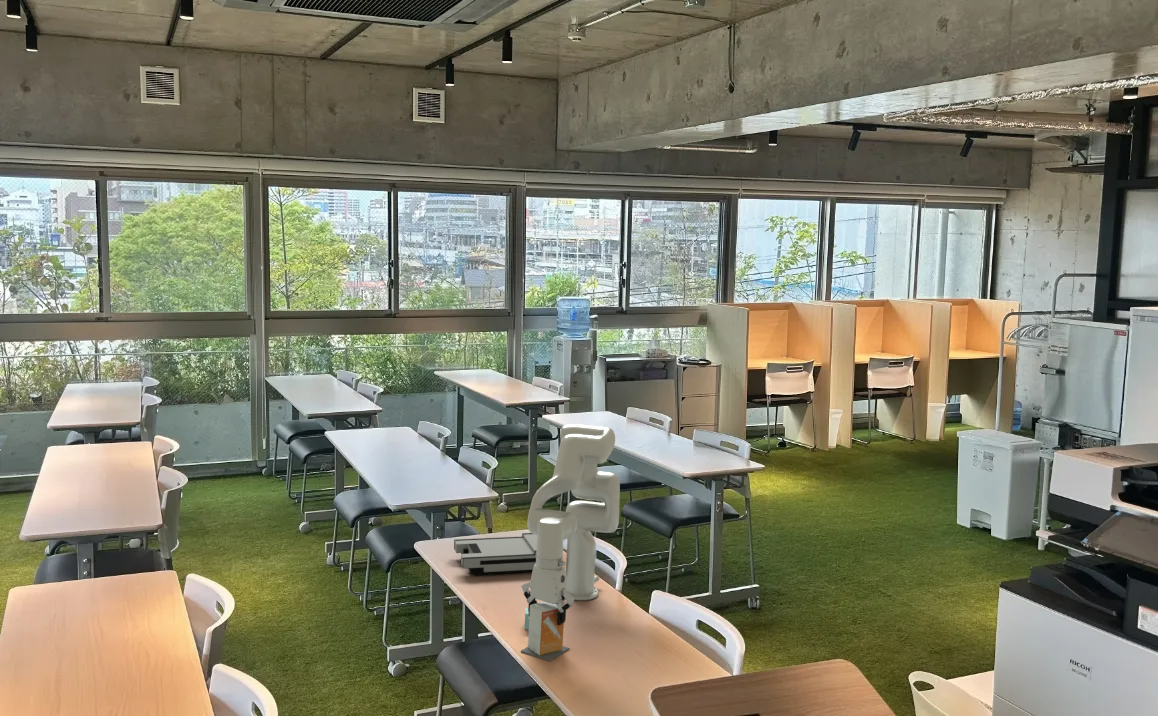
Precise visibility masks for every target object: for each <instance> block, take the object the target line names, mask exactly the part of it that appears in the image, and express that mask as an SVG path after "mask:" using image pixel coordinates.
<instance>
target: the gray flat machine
mask: <svg viewBox="0 0 1158 716" xmlns="http://www.w3.org/2000/svg"><path fill="white" fill-rule="evenodd" d="M453 549H454V551H455V554H460V565H461V567H462V568H463V569H468V571H469V573H475V576H477V577H481V576H482V577H487V576H488V577H489V576H500V575H501V576H502V575H503V576H505V575H521V574H532V571H533V567H534V564H536V549H537V535H535V534H532V533H531V532H523V533H522V535H521V536H504V537H486V538H485V537H483V538H482V537H481V538H463V539H462V538H460V539H453Z"/></svg>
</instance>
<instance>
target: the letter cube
mask: <svg viewBox="0 0 1158 716" xmlns="http://www.w3.org/2000/svg"><path fill="white" fill-rule="evenodd" d="M524 610H525V611H524V630H528V631H529V612H528V607H527V606H526V607H525V609H524Z"/></svg>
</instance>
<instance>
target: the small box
mask: <svg viewBox="0 0 1158 716" xmlns="http://www.w3.org/2000/svg"><path fill="white" fill-rule="evenodd" d="M562 607H563V606H562ZM558 612H559V609H558V608H557V606H556V604H552V603H548V602H545V601H540V602H537V604H532V605H530V615H529V630H528V639H527V640H528V642H527V647H528V648H529V649H531V650H532V651H533V652H535V653H536V654H538V655H543V654H547V653H551V652H555V651H559V650H562V646H564V645H563V643H564V641H563V640H564V627H565V626H564V623H565V622H564V623H563V624H561V625H560V626H559V625H557V613H558Z"/></svg>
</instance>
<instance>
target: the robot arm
mask: <svg viewBox="0 0 1158 716" xmlns="http://www.w3.org/2000/svg"><path fill="white" fill-rule="evenodd" d="M559 435H560V439H561V440H560V442H559V448H558V452H557V457H556V461H555V464H554V470H553V475H552V477H551V478H550V479H548V480H547V481H546V482H544V483H543V484H542V485H541V486H540V487H539V488H538V489H537V491H536V492H535V494H534V495H533V497H532V500H531V503H530V508H529V511H528V516H527V530H528V531H529V533H532V534H535V535H537V549H536V564H534V567H533V571H532V573H531V578H530V581H529V582H526V583H524V584H522V585H521V589H522V592H523V596H524V597H525V599H526V602H527V603H528V612H529V615H530V605H532V604H537V603H538V601H537V600H539V601H540V602H548V603H552V604H556V606H557V608H558V609H559V612H558V613H557V625H559V626H560V625H561V624H563V623H565V622H566V620H567V619H566V617H567V610H568V609H570V608H571V607H572V606H573V603H574V602H575V601H588V600H593V599H596V598H597V597H598V595H599V590H598V589H597V587H595V584H596V583H597V582H599V580H600V577H599V575H595V568H596V552H597V551H596V550H597V549H596V548H597V544H596V540H595V538H594V537H595V536H593V533H591V532H597V533H605V534H607V533H608V534H610V533H615V532H616V530H617V529H618V526H619V521H620V499H621V496H620V495H621V494H620V493H621V489H620V488H621V487H620V485H621V483H620V479H619V476H618V475H617V474H616V473H614V472H610V471H601V470H598V465H601V464H604V463H605V462H606V461H607V460H608V458H609V456H610V455H611V454H612V452H613V450H614V447H615V444H616V434H615V431H614V430H613V429H612V428H610V427H608V426H607V427H606V426H602V425H601V426H600V425H599V426H597V425H588V424H581V423H579V424H578V423H567V424H565V425H563V426H562V427H561V429H560V434H559ZM570 491H571V494H572V496H574V497H575V498H576V499H579V500H574V501H571V502H569V503H568V504H567V506H566V509H565V511H562V510H554V509H548V508H547V509H546V508H543V506H544V505H545V503H546V502H547V501H549V499H551V498H553V497H556V496H558V495H561V494H564V493H567V492H570ZM580 499H581V500H580ZM582 499H583V500H582ZM588 500H589V501H588ZM596 501H597V502H596ZM598 501H599V502H598ZM565 540H566V560H565V561H564V558H563V557H564V541H565ZM566 600H567V602H566ZM562 606H563V607H562Z"/></svg>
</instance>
